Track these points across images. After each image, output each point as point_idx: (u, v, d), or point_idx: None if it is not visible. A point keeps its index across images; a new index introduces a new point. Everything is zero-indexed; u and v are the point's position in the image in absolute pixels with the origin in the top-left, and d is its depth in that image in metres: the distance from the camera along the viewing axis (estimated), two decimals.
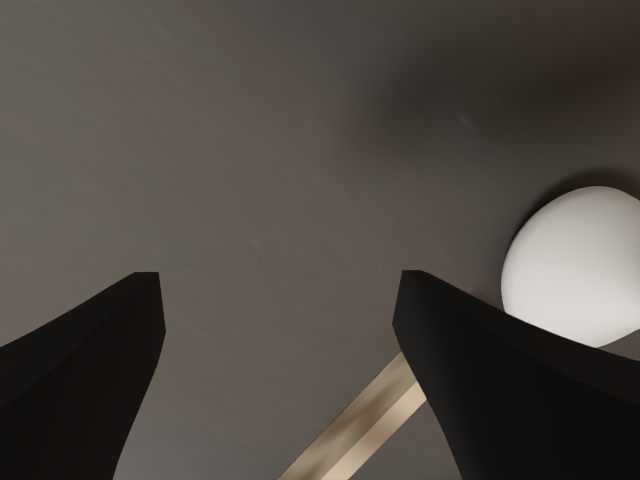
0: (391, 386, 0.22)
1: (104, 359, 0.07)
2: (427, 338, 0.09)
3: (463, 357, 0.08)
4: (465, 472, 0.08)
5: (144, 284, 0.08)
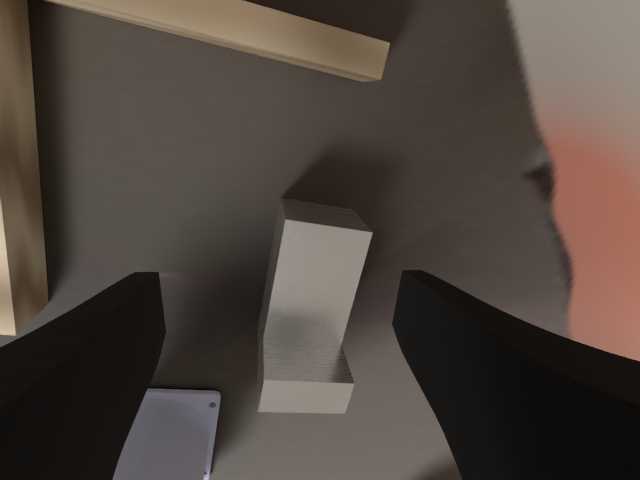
0: None
1: (104, 359, 0.07)
2: (427, 338, 0.09)
3: (463, 357, 0.08)
4: (466, 473, 0.08)
5: (144, 284, 0.08)
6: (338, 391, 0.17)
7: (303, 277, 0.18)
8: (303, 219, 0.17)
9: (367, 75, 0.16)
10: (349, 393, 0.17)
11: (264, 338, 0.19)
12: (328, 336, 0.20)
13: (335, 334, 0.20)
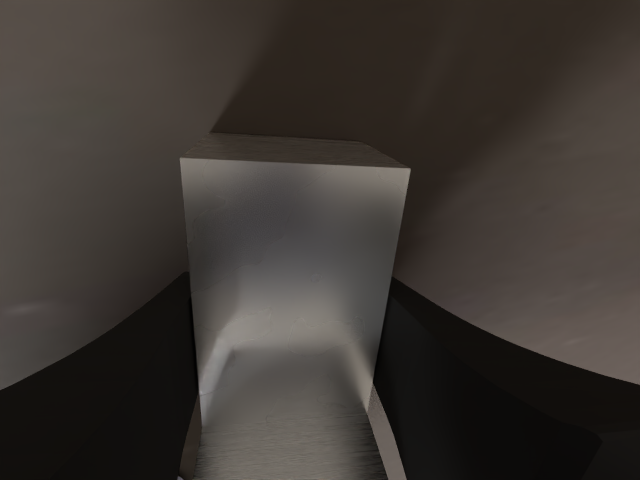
0: None
1: (175, 356, 0.07)
2: (380, 340, 0.09)
3: (409, 360, 0.07)
4: (411, 479, 0.07)
5: None
6: None
7: (259, 295, 0.08)
8: (234, 156, 0.07)
9: None
10: None
11: (204, 425, 0.09)
12: (337, 403, 0.09)
13: (352, 397, 0.09)
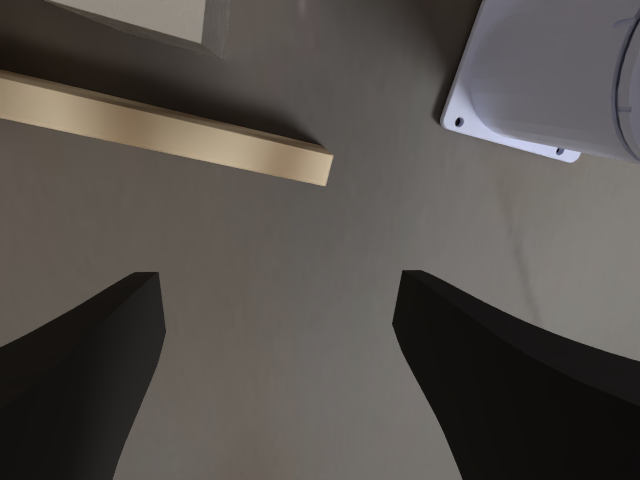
0: None
1: (104, 359, 0.07)
2: (427, 338, 0.09)
3: (463, 357, 0.08)
4: (466, 472, 0.08)
5: (144, 284, 0.08)
6: None
7: None
8: None
9: None
10: None
11: None
12: None
13: None
